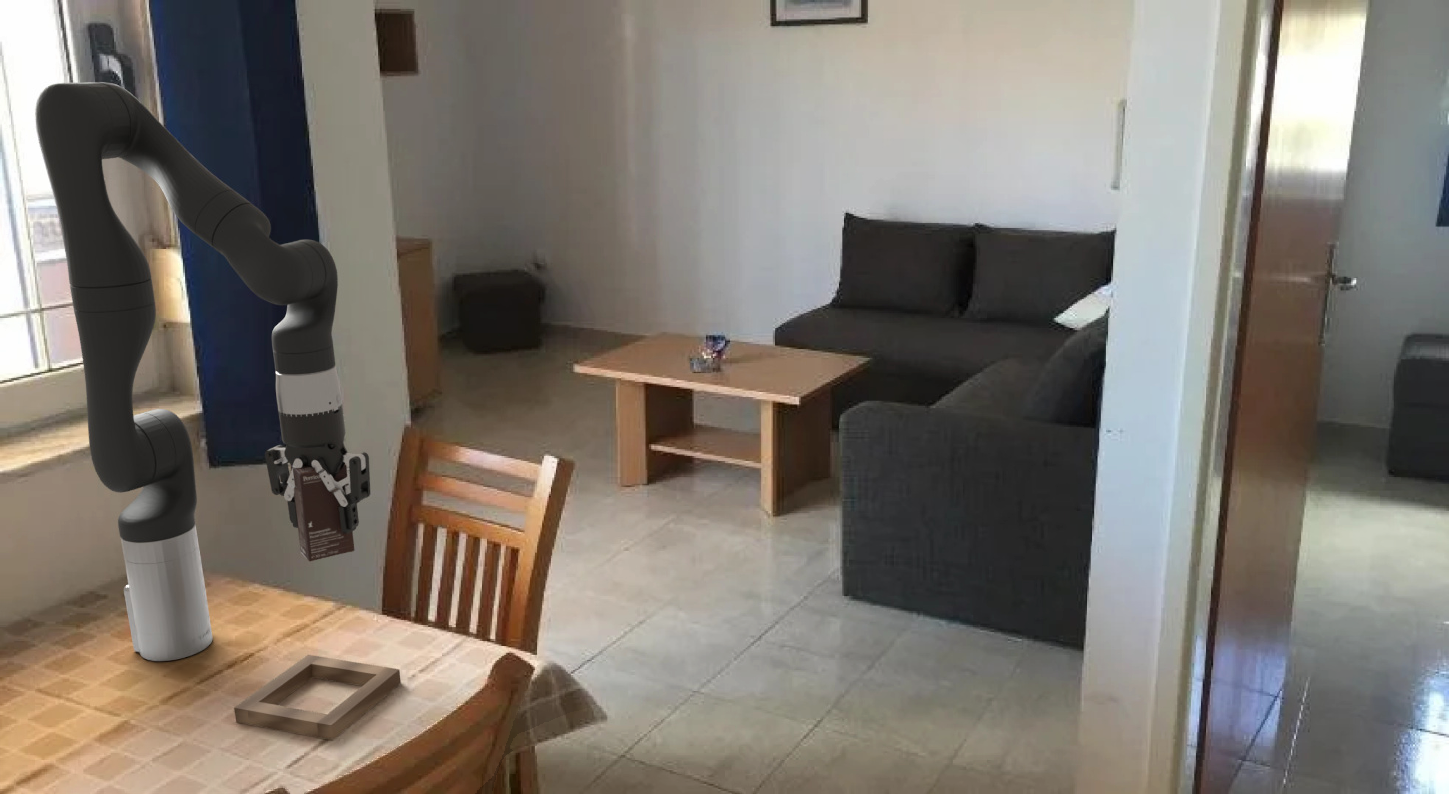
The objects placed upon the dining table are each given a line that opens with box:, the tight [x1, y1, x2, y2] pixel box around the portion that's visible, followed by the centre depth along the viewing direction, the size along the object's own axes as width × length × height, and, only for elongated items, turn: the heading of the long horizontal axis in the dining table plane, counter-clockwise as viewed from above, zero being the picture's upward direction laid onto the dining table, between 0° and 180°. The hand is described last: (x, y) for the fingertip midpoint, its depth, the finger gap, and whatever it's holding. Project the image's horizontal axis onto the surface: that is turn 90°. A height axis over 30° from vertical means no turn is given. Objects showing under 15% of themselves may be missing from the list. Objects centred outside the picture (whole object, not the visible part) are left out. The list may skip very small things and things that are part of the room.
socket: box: [233, 654, 402, 741], centre depth 147 cm, size 14×14×2 cm
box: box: [290, 463, 355, 562], centre depth 150 cm, size 6×4×12 cm
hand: (325, 528), depth 151 cm, fingers closed on box, 6 cm apart
